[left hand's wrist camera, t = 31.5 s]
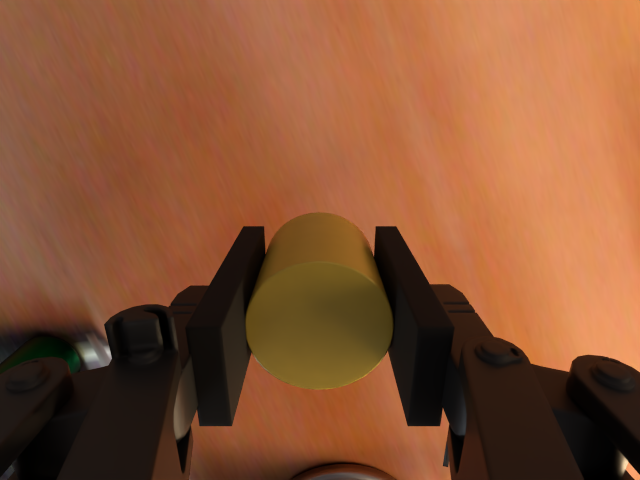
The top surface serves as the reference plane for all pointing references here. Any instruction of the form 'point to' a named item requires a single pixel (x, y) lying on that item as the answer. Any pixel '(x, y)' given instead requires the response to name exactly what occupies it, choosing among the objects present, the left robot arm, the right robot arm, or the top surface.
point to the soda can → (43, 353)
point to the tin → (319, 305)
